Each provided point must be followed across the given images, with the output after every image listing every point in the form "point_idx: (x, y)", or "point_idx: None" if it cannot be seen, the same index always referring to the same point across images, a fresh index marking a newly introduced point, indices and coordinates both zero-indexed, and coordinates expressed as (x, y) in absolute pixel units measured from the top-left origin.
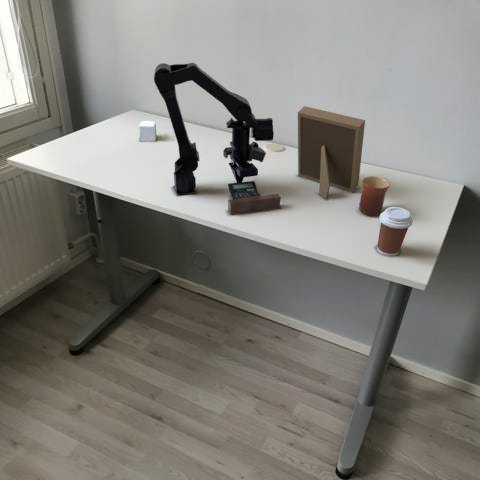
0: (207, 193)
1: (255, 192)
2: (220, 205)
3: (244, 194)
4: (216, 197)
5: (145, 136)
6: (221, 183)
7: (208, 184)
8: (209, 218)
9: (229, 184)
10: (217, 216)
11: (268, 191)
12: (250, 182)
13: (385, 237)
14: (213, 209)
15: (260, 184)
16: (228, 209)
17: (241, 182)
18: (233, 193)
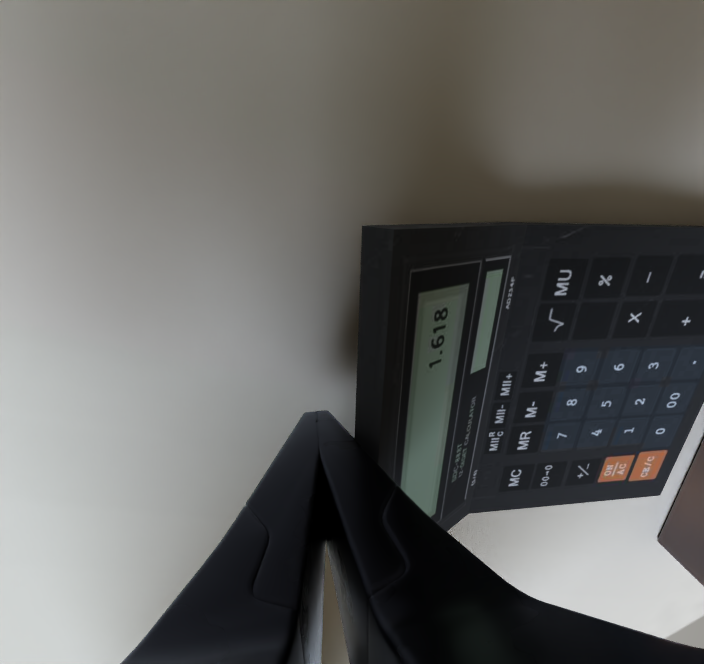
0: (338, 630)
1: (539, 265)
2: (554, 571)
3: (526, 403)
4: None
5: None
6: (143, 532)
7: None
8: (661, 627)
9: None
10: (669, 594)
11: (503, 10)
12: (404, 315)
13: None
14: (580, 608)
15: (220, 41)
16: (680, 557)
17: (379, 453)
18: (467, 498)
